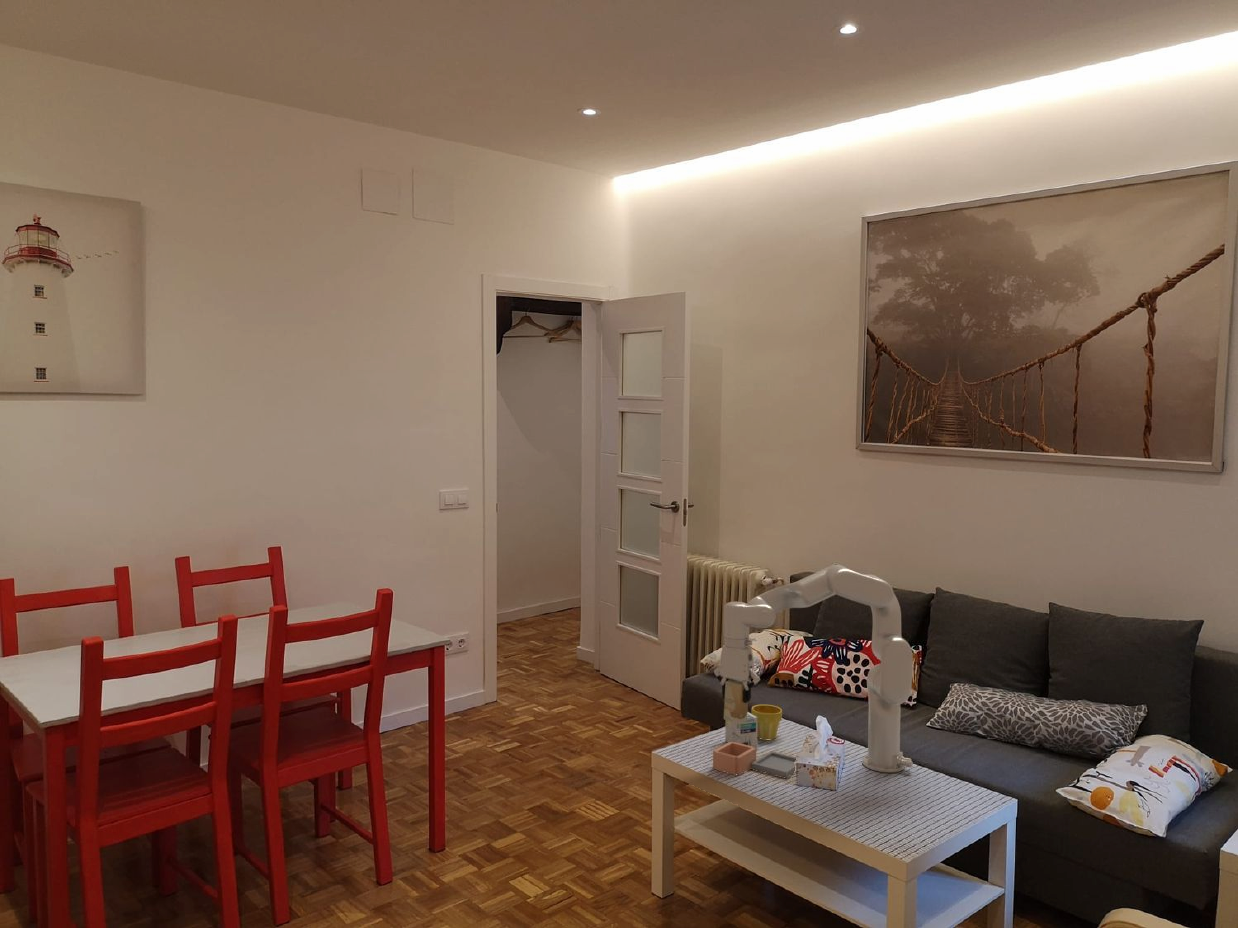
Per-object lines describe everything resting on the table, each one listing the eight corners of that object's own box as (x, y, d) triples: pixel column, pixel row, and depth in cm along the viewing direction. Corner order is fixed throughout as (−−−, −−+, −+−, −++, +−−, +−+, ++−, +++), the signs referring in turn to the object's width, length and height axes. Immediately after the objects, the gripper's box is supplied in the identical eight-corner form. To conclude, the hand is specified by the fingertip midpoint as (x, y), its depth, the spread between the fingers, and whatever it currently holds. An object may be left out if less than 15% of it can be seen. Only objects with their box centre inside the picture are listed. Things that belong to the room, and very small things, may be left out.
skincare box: (723, 719, 274) (724, 680, 273) (731, 716, 277) (732, 677, 276) (740, 724, 269) (740, 685, 269) (748, 721, 272) (749, 682, 272)
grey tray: (805, 765, 275) (805, 759, 275) (786, 778, 264) (786, 772, 264) (771, 756, 282) (771, 750, 282) (751, 769, 272) (751, 762, 272)
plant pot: (786, 735, 302) (786, 707, 302) (774, 744, 293) (775, 715, 293) (758, 729, 307) (758, 702, 307) (746, 738, 299) (746, 710, 298)
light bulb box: (758, 749, 289) (758, 716, 288) (740, 751, 286) (740, 719, 286) (741, 738, 299) (742, 707, 298) (724, 741, 296) (724, 709, 296)
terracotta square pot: (756, 764, 275) (757, 747, 275) (738, 776, 266) (738, 758, 266) (730, 757, 281) (730, 740, 281) (711, 768, 272) (712, 751, 272)
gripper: (767, 644, 270) (767, 701, 270) (718, 636, 280) (718, 691, 281) (755, 648, 264) (755, 707, 264) (706, 640, 274) (706, 697, 275)
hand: (736, 698), depth 273 cm, fingers closed on skincare box, 6 cm apart
